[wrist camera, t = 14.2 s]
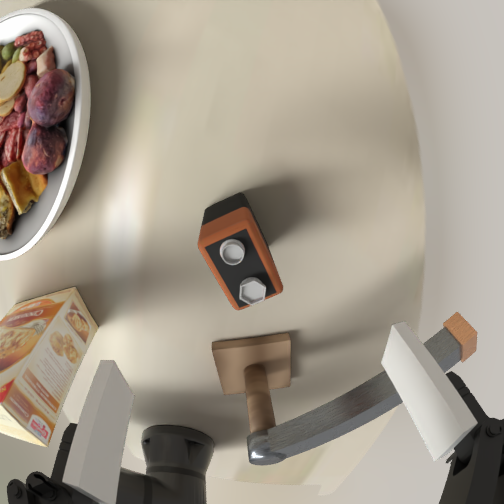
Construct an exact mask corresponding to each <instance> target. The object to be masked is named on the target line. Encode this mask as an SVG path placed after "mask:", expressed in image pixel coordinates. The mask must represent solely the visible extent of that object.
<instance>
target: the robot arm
mask: <svg viewBox="0 0 504 504" xmlns="http://www.w3.org/2000/svg"><path fill="white" fill-rule="evenodd" d="M381 364H382V365H383V367H384V369H385V371H386V372H387V374H388V376H389V378H390V379H391V381H392V383H393V385H394V386H395V388H396V390H397V392H398V393H399V395H400V397H401V399H402V401H403V403H404V404H405V406H406V408H407V410H408V412H409V413H410V415H411V417H412V419H413V421H414V423H415V425H416V427H417V429H418V431H419V433H420V435H421V436H422V438H423V440H424V442H425V444H426V446H427V448H428V450H429V452H430V454H431V456H432V458H433V460H434V461H436V460H438V459H440V458H442V457H443V456H445V455H447V454H448V453H449V452H450V451H451V450H452V449H453V448H454V450H455V452H454V453H453V454H452V455H451V456H450V457H449V458H448V459H447V461H446V463H448V462H449V461H451V460H452V462H451V466H450V470H449V474H448V478H447V481H446V484H445V487H444V490H443V493H442V496H441V499H440V502H439V504H504V419H502V420H498V419H495V418H489V417H488V416H487V415H486V414H485V412H484V411H483V409H482V408H481V406H480V405H479V403H478V402H477V400H476V399H475V397H474V396H473V395H472V393H470V390H469V389H468V388H467V387H466V385H465V383H464V382H463V380H462V379H461V378H460V377H459V376H458V375H456V374H455V373H453V372H452V371H451V372H449V373H447V374H445V373H444V372H443V370H442V369H441V368H440V366H439V365H438V363H437V362H436V361H435V359H434V358H433V357H432V355H431V354H430V353H429V351H428V350H427V349H426V347H425V346H424V345H423V343H422V342H421V341H420V340H419V338H418V337H417V336H416V334H415V333H414V332H413V331H412V329H411V328H410V327H409V325H408V324H407V323H406V322H405V321H403V322H400V323H396V324H392V328H391V331H390V335H389V339H388V342H387V346H386V349H385V352H384V355H383V359H382V362H381ZM134 397H135V395H134V393H133V392H132V390H131V388H130V387H129V385H128V384H127V382H126V380H125V379H124V377H123V375H122V373H121V372H120V370H119V368H118V366H117V365H116V363H115V361H114V360H101V361H100V364H99V366H98V369H97V371H96V374H95V376H94V379H93V382H92V384H91V387H90V390H89V393H88V395H87V398H86V401H85V404H84V407H83V410H82V413H81V416H80V419H79V422H78V424H75V423H70V424H69V426H68V427H67V428H66V430H65V431H64V434H63V437H62V442H61V443H60V447H59V449H60V450H59V451H58V454H57V457H56V461H55V464H54V468H53V472H52V476H51V478H49V477H47V476H46V475H44V474H43V473H41V472H37V471H36V472H33V473H31V474H30V475H29V476H28V477H27V479H26V484H24V483H23V482H21V481H19V480H17V479H13V480H11V481H10V482H9V484H8V486H7V495H8V502H9V504H206V481H205V475H206V471H207V469H208V466H209V464H210V461H211V458H212V456H213V452H214V446H213V441H212V439H211V438H210V437H208V436H207V435H205V434H203V433H201V432H199V431H196V430H193V429H189V428H184V427H178V426H154V427H150V428H147V429H146V430H144V431H143V434H142V440H141V444H142V449H143V453H144V457H145V461H146V465H147V469H146V475H144V474H141V473H138V472H135V471H131V470H128V469H125V468H122V467H121V462H122V455H123V450H124V445H125V439H126V434H127V429H128V424H129V419H130V415H131V410H132V406H133V401H134Z"/></svg>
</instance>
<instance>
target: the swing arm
mask: <svg viewBox="0 0 504 504" xmlns="http://www.w3.org/2000/svg"><path fill="white" fill-rule="evenodd" d="M443 326H444V328H443V329H442V330H440V331H439V332H438V333H437V334H435V335H434V336H433V337H432V338H430V339H429V340H428V341H426V342H425V343H424V344H423V345H424V346H425V347H426V349H427V350H428V351H429V353H430V354H431V355H432V357H433V358H434V359H435V361H436V362H437V363H438V365H439V366H440V368H441V369H442V370H443V372H444V373H445V372H446V371H447V370H449V369H450V368H451V367H453V366H454V365H455V364H456V363H457V362H459V361H460V360H461V361H462V362H464V361H465V360H466V359H467V358H468V357H470V356H471V355H472V354H473V353H474V352H475V351H476V344H477V332H476V331H475V330H474V328H473V327H471V325H470V324H469V323H468V322H467V321H466V320H465V319H464V318H463V317H462V316H461V315H460V314H459V313H458V312H456V313H455V314H454V315H453V316H451V317H450V318H449V319H448V320H447V321H446V322H444V323H443ZM402 402H403V401H402V399H401V397H400V395H399V393H398V392H397V390H396V388H395V386H394V385H393V383H392V381H391V379H390V378H389V376H388V374H387V372H386V371H383V372H381V373H380V374H378V375H377V376H375V377H373V378H372V379H370V380H368V381H367V382H365V383H363V384H362V385H360V386H358V387H356V388H355V389H353V390H351V391H349V392H347V393H346V394H344V395H342V396H340V397H338V398H336V399H334V400H332V401H330V402H328V403H326V404H324V405H322V406H320V407H318V408H316V409H314V410H312V411H310V412H308V413H306V414H303V415H301V416H299V417H297V418H295V419H292V420H290V421H288V422H285V423H283V424H280V425H278V426H275V427H273V428H270V429H268V430H260V431H256V432H254V433H251V434H250V435H248V437H247V446H248V455H249V462H250V463H251V464H254V465H271V464H275V463H278V462H281V461H283V460H284V459H286V458H288V457H291V456H294V455H297V454H299V453H302V452H305V451H307V450H310V449H312V448H315V447H317V446H320V445H322V444H324V443H327V442H329V441H331V440H333V439H336V438H338V437H340V436H342V435H344V434H346V433H348V432H350V431H352V430H354V429H356V428H358V427H360V426H362V425H364V424H366V423H368V422H370V421H372V420H373V419H375V418H377V417H379V416H381V415H382V414H384V413H386V412H387V411H389V410H391V409H392V408H394V407H396V406H397V405H399V404H401V403H402Z"/></svg>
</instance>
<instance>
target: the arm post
mask: <svg viewBox="0 0 504 504" xmlns="http://www.w3.org/2000/svg"><path fill="white" fill-rule="evenodd" d="M212 352H213V356H214V360H215V364H216V367H217V371H218V375H219V378H220V382H221V385H222V389H223V392H224V395H229V394H239V393H246V398H247V407H248V416H249V425H250V433H254V432H256V431H260V430H268V429H270V428H273V427H275V426H276V424H275V418H274V413H273V407H272V402H271V397H270V391H269V390H271V389H277V388H284V387H289V386H290V373H291V340H290V337H289V333H283V334H276V335H269V336H262V337H255V338H247V339H239V340H230V341H220V342H212Z"/></svg>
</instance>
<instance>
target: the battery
mask: <svg viewBox="0 0 504 504" xmlns="http://www.w3.org/2000/svg"><path fill="white" fill-rule="evenodd" d="M198 248H199V250H200V252H201V253H202V255H203V257H204V259H205V260H206V262H207V264H208V266H209V267H210V269H211V271H212V273H213V274H214V276H215V278H216V279H217V281H218V283H219V285H220V286H221V288H222V290H223V291H224V293H225V295H226V296H227V298H228V300H229V301H230V303H231V305H232V306H233V308H234V309H236V310H241V309H244V308H246V307H249V306H252V305H254V304H256V303H259V302H261V301H264V300H265V299H268V298H270V297H273V296H275V295H277V294H279V293H281V292H282V291H283V285H282V282H281V280H280V277H279V274H278V272H277V269H276V266H275V263H274V261H273V258H272V255H271V253H270V250H269V247H268V245H267V243H266V240H265V238H264V236H263V234H262V232H261V229H260V227H259V225H258V223H257V221H256V218H255V216H254V214H253V212H252V210H251V208H250V206H249V203H248V201H247V199H246V197H245V195H244V194H242V193H238V194H236V195H234V196H231V197H229V198H227V199H225V200H223V201H221V202H219V203H216V204H214V205H212V206H210V207H208V208H206V209H205V212H204V217H203V221H202V226H201V230H200V235H199V240H198Z"/></svg>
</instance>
